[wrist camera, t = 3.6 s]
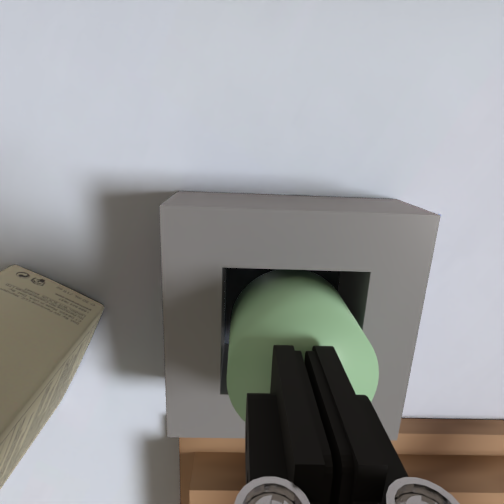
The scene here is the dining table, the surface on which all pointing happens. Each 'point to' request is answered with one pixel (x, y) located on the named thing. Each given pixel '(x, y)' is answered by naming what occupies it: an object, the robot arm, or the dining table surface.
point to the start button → (293, 332)
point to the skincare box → (37, 354)
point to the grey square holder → (294, 258)
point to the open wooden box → (407, 447)
